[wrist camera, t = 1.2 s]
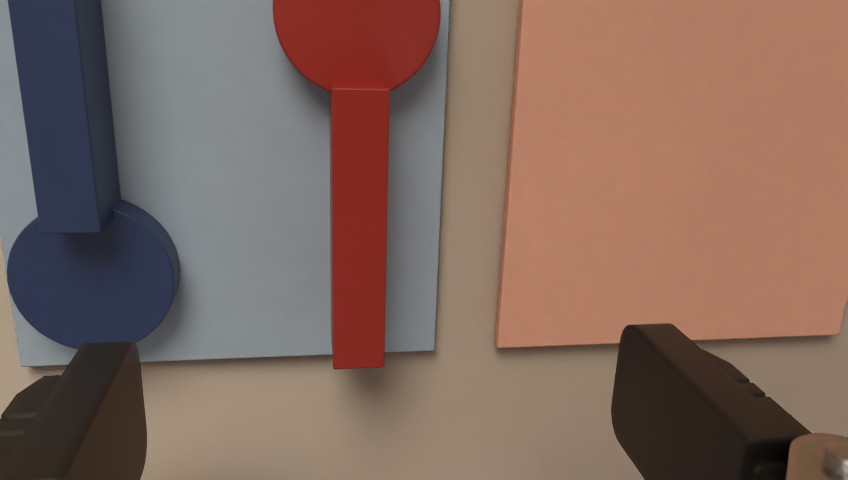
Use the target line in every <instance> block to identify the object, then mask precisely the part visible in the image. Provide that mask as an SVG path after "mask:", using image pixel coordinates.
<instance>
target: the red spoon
mask: <svg viewBox="0 0 848 480" xmlns="http://www.w3.org/2000/svg"><path fill="white" fill-rule="evenodd" d="M440 18H441V4H440V0H273V20H274V26H275V30H276V34H277V37H278V40H279V42H280V45H281V47H282V49H283V51H284V53H285V55H286V56H287V58H288V59H289V61H290V62H291V64H292V65H293V66H294V67H295V68H296V69H297V70H298V72H299V73H300V74H302V75H303V76H304V77H305V78H306V79H307V80H309V81H310V82H312V83H313V84H315V85H316V86H318V87H320V88H322V89H324V90H326V91H328V92H329V98H330V264H331V342H332V356H333V368H334V369H352V368H376V367H384V358H385V308H386V259H387V209H388V159H389V110H390V91H392V90H394V89H396V88H398V87H399V86H401V85H402V84H404V83H406V82H407V81H408V80H409V79H411V78H412V77H413V76H414V75H415V74H416V73H417V72H418V71H419V70H420V69H421V67H422V66H423V65H424V63H425V62H426V60H427V59H428V57H429V55H430V54H431V52H432V50H433V48H434V45H435V42H436V39H437V36H438V32H439V27H440Z"/></svg>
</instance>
